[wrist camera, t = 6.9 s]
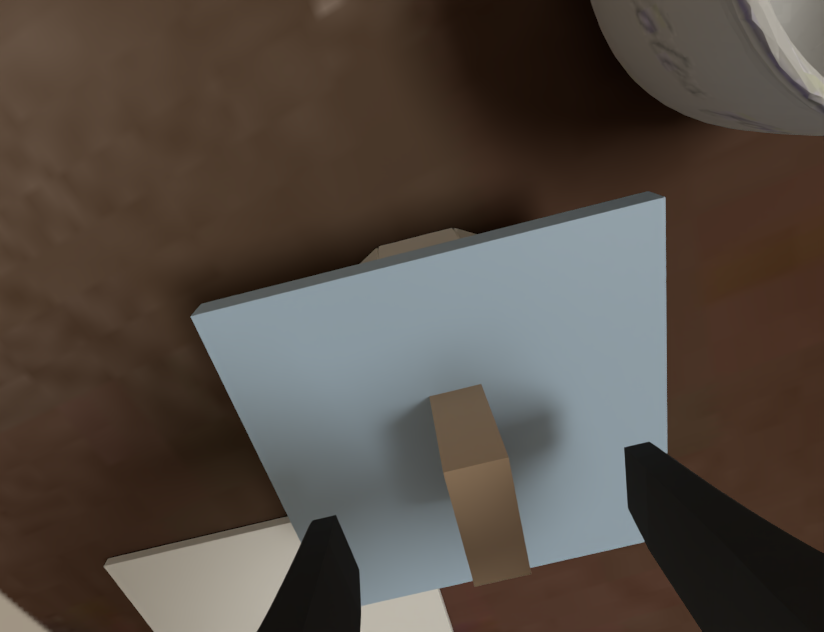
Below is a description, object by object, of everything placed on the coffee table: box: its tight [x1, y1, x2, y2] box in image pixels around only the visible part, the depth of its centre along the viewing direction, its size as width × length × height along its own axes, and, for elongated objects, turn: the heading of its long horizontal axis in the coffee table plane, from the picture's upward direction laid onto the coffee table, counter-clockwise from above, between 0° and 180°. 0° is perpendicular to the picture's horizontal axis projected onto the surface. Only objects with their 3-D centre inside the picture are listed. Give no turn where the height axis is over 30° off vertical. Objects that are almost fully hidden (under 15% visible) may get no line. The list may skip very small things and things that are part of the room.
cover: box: [190, 191, 667, 606], centre depth 13 cm, size 12×12×4 cm
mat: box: [104, 516, 454, 632], centre depth 24 cm, size 14×14×1 cm
